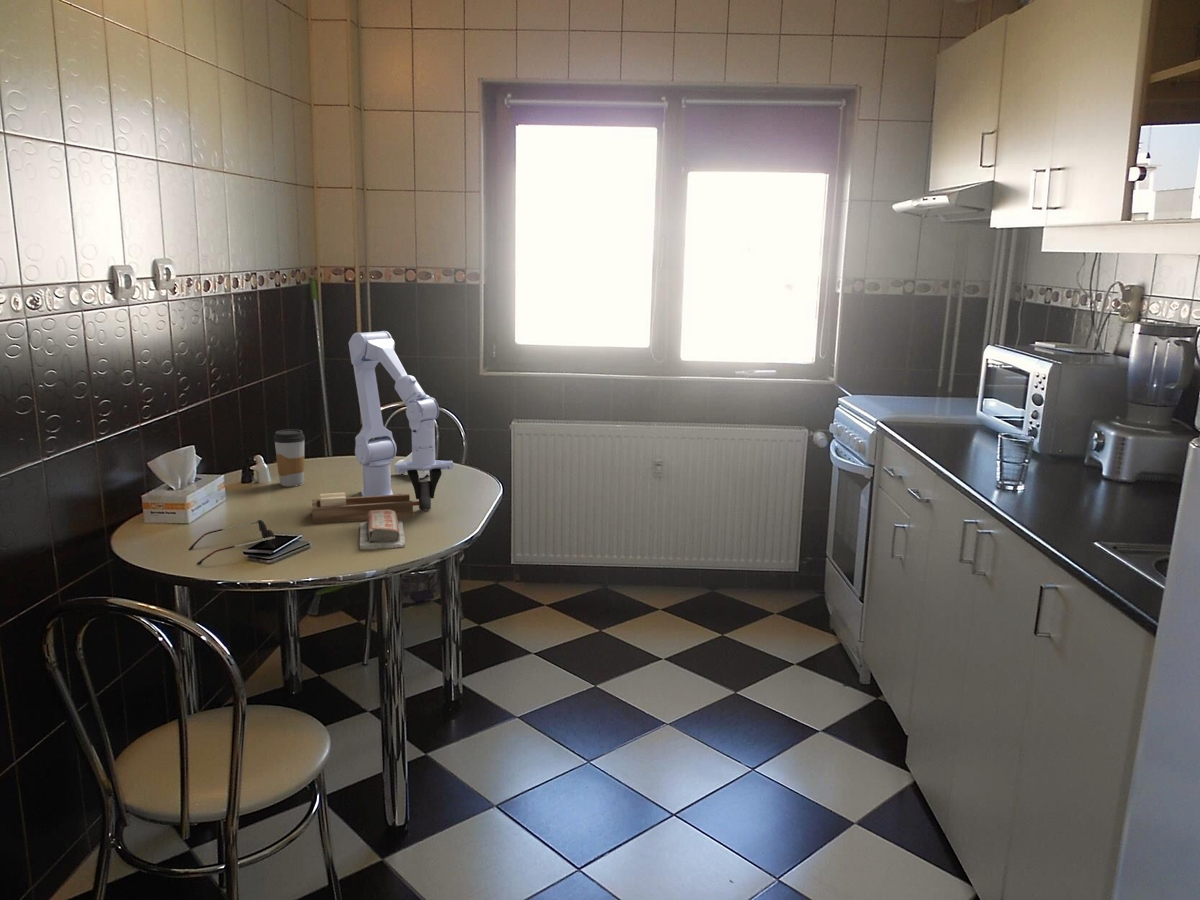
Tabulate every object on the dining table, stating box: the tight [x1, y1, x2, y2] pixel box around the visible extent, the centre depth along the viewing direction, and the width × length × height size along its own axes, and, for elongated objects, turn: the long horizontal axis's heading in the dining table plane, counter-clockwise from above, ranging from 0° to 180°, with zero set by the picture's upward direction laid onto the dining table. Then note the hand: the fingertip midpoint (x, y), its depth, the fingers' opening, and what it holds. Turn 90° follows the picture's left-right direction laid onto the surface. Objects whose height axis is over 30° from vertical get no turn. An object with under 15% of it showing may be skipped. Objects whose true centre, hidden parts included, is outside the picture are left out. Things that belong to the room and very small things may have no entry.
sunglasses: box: [188, 519, 276, 565], centre depth 197 cm, size 14×16×5 cm
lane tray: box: [311, 493, 414, 524], centre depth 226 cm, size 10×24×4 cm, turn 108°
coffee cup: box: [273, 428, 306, 487], centre depth 251 cm, size 8×8×15 cm
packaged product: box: [359, 509, 406, 550], centre depth 209 cm, size 18×5×10 cm
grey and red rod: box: [319, 479, 432, 511], centre depth 226 cm, size 5×27×7 cm, turn 108°
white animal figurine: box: [395, 452, 430, 479], centre depth 264 cm, size 6×8×12 cm
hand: (424, 497), depth 230 cm, fingers closed on grey and red rod, 3 cm apart
